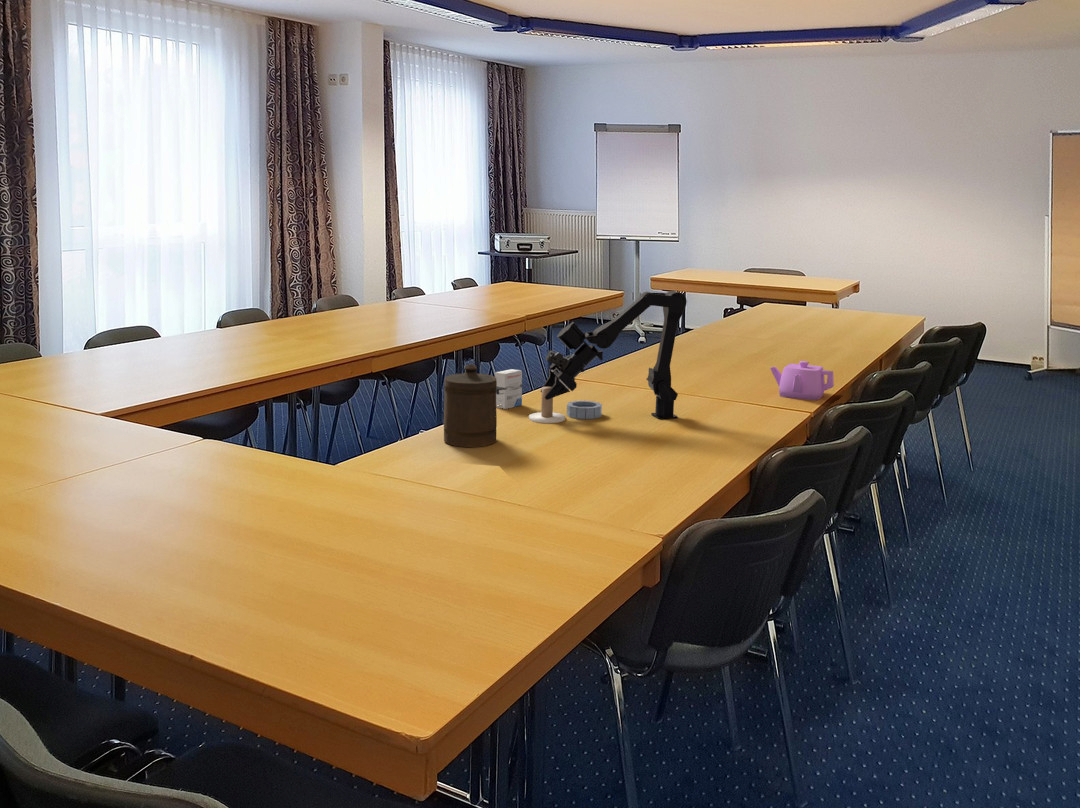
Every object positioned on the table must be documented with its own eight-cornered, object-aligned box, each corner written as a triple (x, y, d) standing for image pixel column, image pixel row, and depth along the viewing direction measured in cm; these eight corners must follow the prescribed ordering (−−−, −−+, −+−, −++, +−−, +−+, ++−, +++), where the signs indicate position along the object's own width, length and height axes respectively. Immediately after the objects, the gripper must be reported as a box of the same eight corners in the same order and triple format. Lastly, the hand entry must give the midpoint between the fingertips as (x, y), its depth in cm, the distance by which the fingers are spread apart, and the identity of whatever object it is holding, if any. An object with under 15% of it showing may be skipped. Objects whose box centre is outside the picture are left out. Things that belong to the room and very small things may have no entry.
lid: (569, 422, 293) (570, 390, 291) (534, 424, 290) (535, 392, 288) (558, 414, 304) (559, 383, 302) (524, 416, 301) (524, 385, 298)
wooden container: (502, 436, 276) (502, 361, 271) (488, 449, 261) (489, 370, 257) (452, 432, 279) (452, 358, 274) (437, 445, 264) (436, 367, 260)
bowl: (606, 418, 299) (606, 407, 298) (573, 419, 296) (573, 408, 295) (594, 410, 309) (594, 399, 308) (562, 412, 306) (563, 401, 305)
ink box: (511, 403, 318) (511, 368, 316) (522, 405, 315) (522, 370, 313) (494, 407, 312) (494, 371, 309) (505, 409, 309) (505, 373, 306)
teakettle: (836, 399, 331) (839, 364, 328) (793, 402, 326) (796, 366, 323) (808, 389, 347) (810, 356, 344) (767, 392, 342) (769, 358, 339)
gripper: (557, 337, 301) (521, 372, 302) (566, 346, 283) (529, 383, 284) (580, 361, 304) (545, 396, 305) (592, 372, 286) (554, 409, 287)
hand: (543, 395), depth 295 cm, fingers open, 9 cm apart
